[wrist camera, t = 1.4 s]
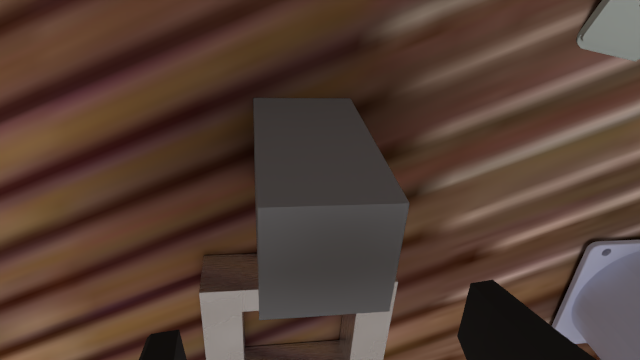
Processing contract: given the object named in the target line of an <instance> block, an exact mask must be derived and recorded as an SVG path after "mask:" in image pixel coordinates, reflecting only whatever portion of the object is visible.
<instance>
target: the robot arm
mask: <svg viewBox="0 0 640 360" xmlns="http://www.w3.org/2000/svg"><path fill="white" fill-rule="evenodd" d="M458 339H459V341H460V344H461V347H462V349H463V352H464V354H465V357H466V359H467V360H596V359H595V358H593V357H592V356H591V355H589V354H588V353H586V352H585V351H584V350H582V349H581V348H580V347H578V346H577V345H576V344H579V343H588V344H589V345H590V347H591V348H592V349H593V350H594V352H595V353H596V354H597V356H598V357H599V358H600V359H601V360H640V240H618V241H597V242H593V243H591V244H590V245H588V246H587V248H586V250H585V252H584V254H583V257H582V259H581V261H580V263H579V266H578V268H577V270H576V272H575V275H574V277H573V279H572V281H571V284H570V286H569V288H568V290H567V293H566V295H565V297H564V299H563V301H562V304H561V306H560V308H559V310H558V313H557V315H556V317H555V319H554V322H553V324H552V326H551V325H549V324H548V323H547V322H545V321H544V320H543V319H542V318H540V317H539V316H538V315H537V314H535V313H534V312H533V311H532V310H530V309H529V308H528V307H526V306H525V305H524V304H523V303H521V302H520V301H519V300H518V299H516V298H515V297H514V296H513V295H511V294H510V293H509V292H508V291H506V290H505V289H504V288H503V287H501V286H500V285H499V284H497V283H496V282H495V281H493V280H488V281H482V282H476V283H471V284H470V288H469V292H468V296H467V300H466V304H465V308H464V312H463V316H462V320H461V324H460V328H459V332H458ZM139 360H187V359H186V356H185V352H184V348H183V344H182V340H181V336H180V332H179V330H174V331H167V332H161V333H155V334H151V335H150V336H149V337H148V338H147V340H146V343H145V345H144V348H143V351H142V353H141V356H140V358H139Z"/></svg>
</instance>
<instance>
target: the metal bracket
mask: <svg viewBox="0 0 640 360" xmlns="http://www.w3.org/2000/svg"><path fill="white" fill-rule="evenodd" d="M639 5H640V0H602V1H601V2H600V4H599V5H598V7H597V8H596V9H595V11H594V12H593V13H592V15H591V16H590V18H589V19H588V20H587V22H586V23H585V24H584V26H583V27H582V29H581V30H580V32H579V34H578V36H577V44H578V45H579V46H580V48H582V49H586V50H590V51H594V52H599V53H603V54H607V55H611V56H615V57H619V58H623V59H627V60H632V61H637V60H639V59H640V6H639Z"/></svg>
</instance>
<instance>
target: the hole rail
mask: <svg viewBox="0 0 640 360" xmlns="http://www.w3.org/2000/svg"><path fill="white" fill-rule="evenodd" d="M397 284H398V281H397V278H395V284H394V289H393V295H392V300H391V305H390V311H388V312H373V313H358V314H343V315H342V321H341V330H340V339H339V340H335V341H321V342H308V343H294V344H281V345H267V346H254V347H245V329H244V312H245V311H259V295H258V264H257V254H235V255H212V256H204V259H203V267H202V275H201V283H200V291H199V295H200V305H201V315H202V324H203V334H204V344H205V353H206V360H383V358H384V352H385V347H386V342H387V337H388V331H389V326H390V321H391V316H392V310H393V305H394V300H395V295H396V290H397Z"/></svg>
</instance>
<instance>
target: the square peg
mask: <svg viewBox="0 0 640 360" xmlns="http://www.w3.org/2000/svg"><path fill="white" fill-rule="evenodd" d="M253 104H254V163H255V203H256V234H257V264H258V295H259V320H268V319H283V318H298V317H313V316H328V315H343V314H358V313H373V312H388V311H390V305H391V300H392V295H393V289H394V284H395V278H396V273H397V268H398V262H399V257H400V252H401V246H402V241H403V235H404V230H405V225H406V219H407V214H408V209H409V202H408V200H407V198H406V196H405V194H404V193H403V191H402V189H401V187H400V186H399V184H398V182H397V180H396V179H395V177H394V175H393V173H392V171H391V170H390V168H389V166H388V164H387V163H386V161H385V159H384V157H383V155H382V154H381V152H380V150H379V148H378V147H377V145H376V143H375V141H374V140H373V138H372V136H371V134H370V132H369V131H368V129H367V127H366V125H365V124H364V122H363V120H362V118H361V116H360V115H359V113H358V111H357V109H356V108H355V106H354V104H353V102H352V101H351V99H350V98H253Z"/></svg>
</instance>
